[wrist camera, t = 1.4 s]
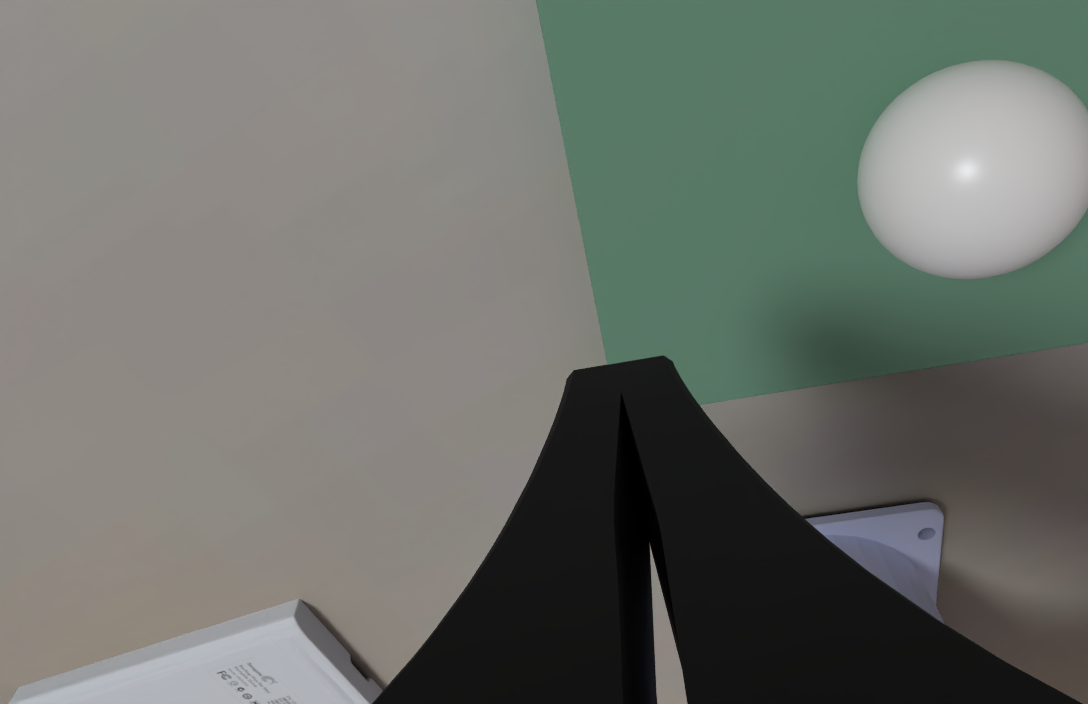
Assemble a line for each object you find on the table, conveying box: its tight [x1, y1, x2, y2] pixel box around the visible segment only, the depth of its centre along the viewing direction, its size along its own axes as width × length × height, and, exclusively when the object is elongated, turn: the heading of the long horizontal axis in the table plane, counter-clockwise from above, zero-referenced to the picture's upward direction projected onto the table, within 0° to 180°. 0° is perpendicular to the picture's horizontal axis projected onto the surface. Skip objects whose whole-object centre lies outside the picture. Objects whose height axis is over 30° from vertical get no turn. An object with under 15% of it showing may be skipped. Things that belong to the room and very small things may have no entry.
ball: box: [857, 60, 1088, 279], centre depth 15 cm, size 4×4×4 cm
